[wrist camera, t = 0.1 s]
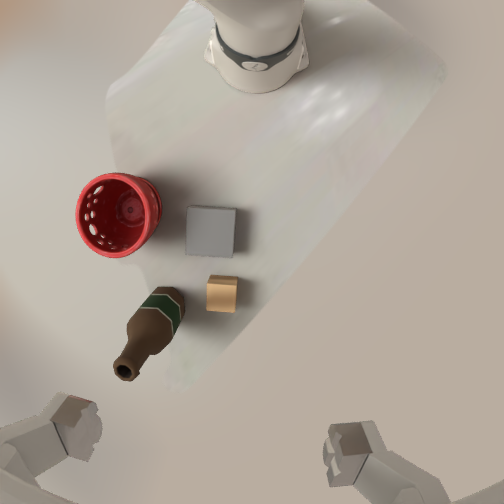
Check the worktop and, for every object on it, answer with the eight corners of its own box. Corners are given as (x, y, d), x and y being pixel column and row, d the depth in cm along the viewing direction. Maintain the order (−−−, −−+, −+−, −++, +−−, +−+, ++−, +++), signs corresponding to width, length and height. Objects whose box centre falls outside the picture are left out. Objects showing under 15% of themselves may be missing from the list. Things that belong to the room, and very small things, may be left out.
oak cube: (210, 274, 58) (207, 283, 53) (237, 276, 58) (236, 285, 53) (209, 299, 59) (206, 310, 54) (236, 301, 59) (234, 312, 54)
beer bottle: (154, 278, 58) (101, 337, 35) (192, 293, 59) (158, 362, 35) (144, 312, 60) (94, 380, 36) (180, 327, 60) (145, 403, 37)
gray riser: (191, 205, 55) (187, 207, 51) (236, 208, 55) (235, 210, 51) (189, 249, 57) (185, 254, 53) (233, 252, 57) (232, 258, 53)
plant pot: (111, 246, 57) (81, 262, 45) (102, 179, 54) (69, 180, 42) (174, 239, 56) (155, 255, 45) (165, 167, 54) (143, 165, 42)
